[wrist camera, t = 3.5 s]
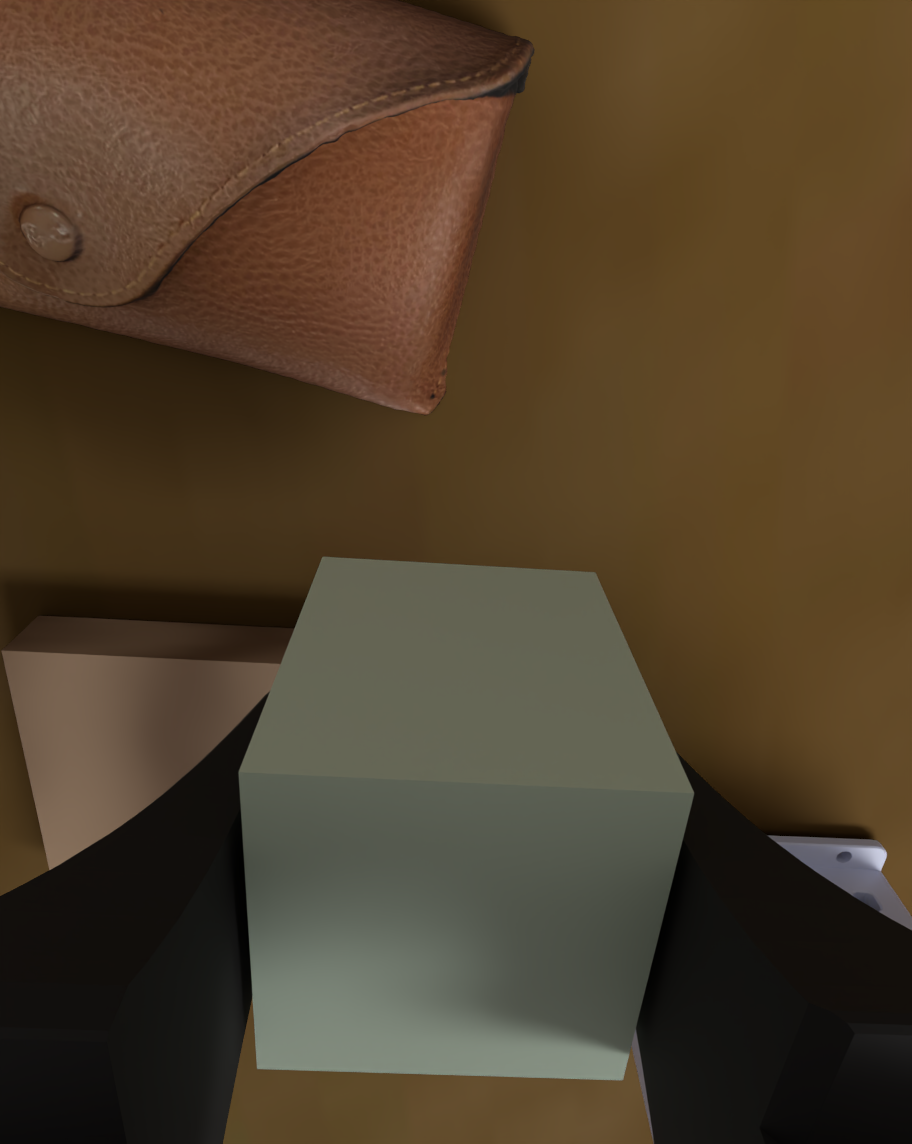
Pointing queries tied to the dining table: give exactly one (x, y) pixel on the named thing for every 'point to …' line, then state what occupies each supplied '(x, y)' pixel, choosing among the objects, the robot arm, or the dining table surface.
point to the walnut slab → (126, 712)
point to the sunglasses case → (254, 178)
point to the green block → (456, 827)
